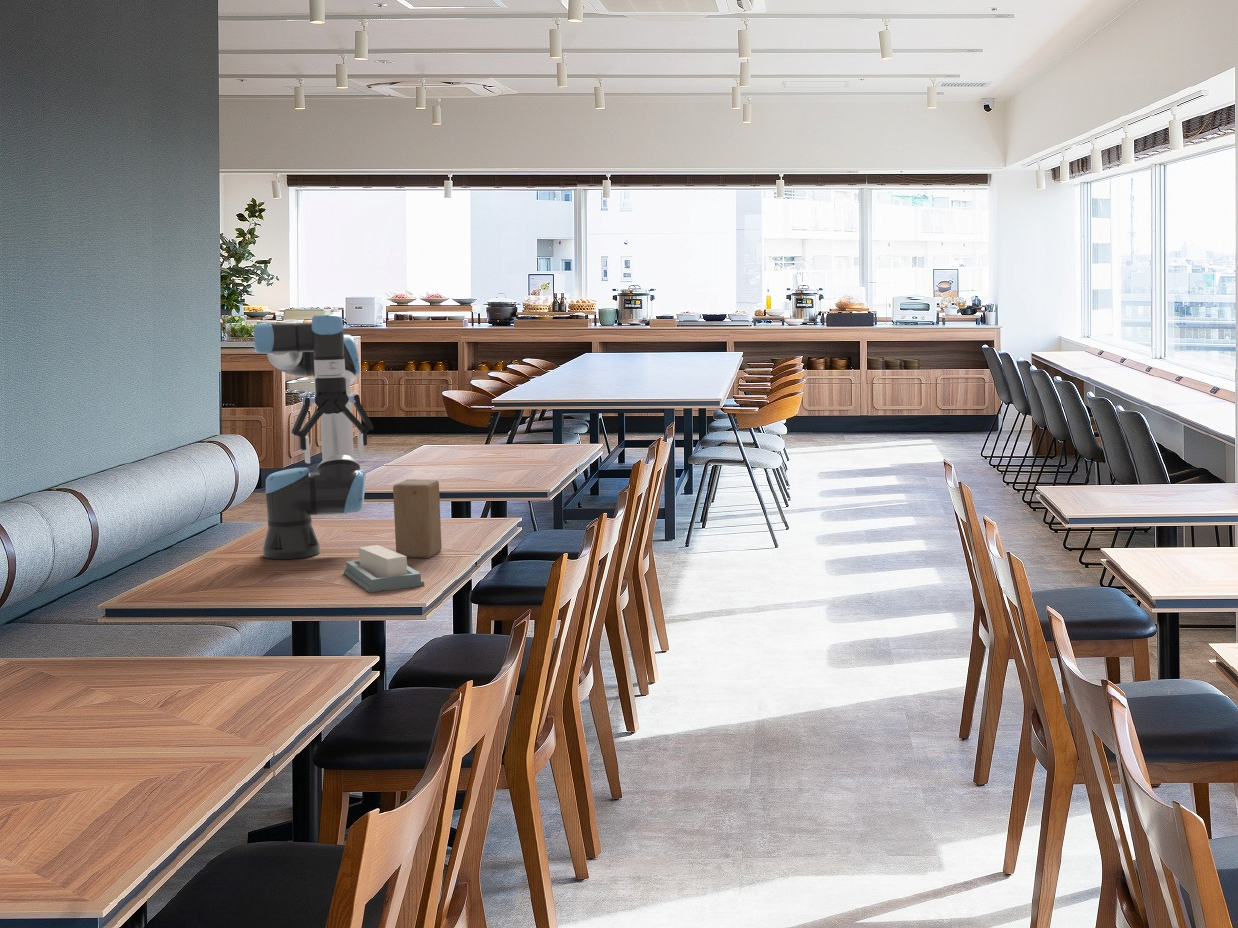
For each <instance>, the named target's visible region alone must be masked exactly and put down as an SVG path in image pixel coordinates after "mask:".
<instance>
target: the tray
mask: <svg viewBox="0 0 1238 928" xmlns="http://www.w3.org/2000/svg"><path fill="white" fill-rule="evenodd" d="M345 567H346V568H345V569H343V574H344V575H345V576H347V577H348V578H349V579H351V581H353V582H355V583H356V584H358V585H359V586H360V587H362V588H363V589H364V590H365V591H367V592H368V593H369V592H370V593H375V592H374V591H377V592H381V591H380V590H385V591H390V590H391V591H392V590H400V589H406V588H407V589H409V588H414V587H415V588H416V587H424V586H425V581H424V580H423V579H422V578H421V577H422V576H421V575H422V574H421V573H420V572H419V571H417V570H416V569H414V568H412V567H411V566H409V565H407V574H405V575H397V576H389V577H381V578H376V577H374V576H373V575H372V574H370V573H369V572H367V571H366V570H364V569H363V568H362V567H360V562H359V559H357V560H348V561H347V560H346V561H345Z"/></svg>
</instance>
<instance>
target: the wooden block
mask: <svg viewBox="0 0 1238 928" xmlns="http://www.w3.org/2000/svg"><path fill="white" fill-rule="evenodd" d="M392 492H393V493H392V494H393V495H392V497H393V513H394V515H393V517H394V535H395V537H394V539H395V552H397V553H399V554H402V555H404V556H407V558H409V559H410V558H412V559H428V558H431V557H433V556H435V555H436V554H438V553H440V552H442V525H441V524H442V523H441V505H440V504H441V503H440V502H441V501H440V499H441V498H440V482H439V480H437V479H412V478H411V479H406V480H402V481H400V482H398V483H395V484H394V485H393V487H392Z"/></svg>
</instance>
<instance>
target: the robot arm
mask: <svg viewBox="0 0 1238 928" xmlns="http://www.w3.org/2000/svg"><path fill="white" fill-rule="evenodd" d="M343 322H344V321H343V317H342V315H340V314H316V315H313V316H312V317H311V321H310V322H309V321H308V322H282V323H281V322H277V323H276V322H275V323H274V322H273V323H271V322H265V323H257V324H255V326H254V329H253V340H254V348H255V351H256V352H257V353H258V354H265V355H267V359H268V362H269V363H270V364H271V365H272V367H274V369H276V370H278V371H280V372H283V373H286V374H289V375H292V376H300V377H313V382H314V385H315V397H307V396H304V397H303V398H302V406H301V408H300V410H299V413H298V415H297V418H296V420H295V423H294V425H293V427H292V430H291V434H292V435H294V436H297V437H299V438H298V439H299V449H300V450H301V451H304V463H305V464H311V453H310V452H311V450H310V449H311V447H310V437H309V436H307V435H308V434H309V433H310V431H311V430H312V429H313V427H314V425H316V423H317V421H319V419H320V431H321V452H322V455H321V457H322V461H321V462H320V463H318V465H317V467H316V468H317V469H316V471H317V472H310V469H309V467H304V466H303V467H294V468H288V469H283V470H279V471H275V472H273V473H270V474H269V475H268V476H267V477H266V478H265V491H264V493H265V495H266V496H265V497H266V511H267V512H266V516H267V531H266V535H265V537H264V542H263V546H262V556H263V558H266V559H273V560H294V559H303V558H308V557H309V558H310V557H312V556H316V555H319V554H320V552H321V548H320V547H321V546H320V542H319V540H318V536H317V534H316V532H315V529H314V527H313V524H312V523H313V522H312V516H320V515H324V516H325V515H339V514H342V515H343V514H345V515H347V514H350V513H351V514H352V513H358V512H361V510H362V509H363V507H364V501H365V492H366V471H365V470H363V469H361V465H360V463H359V462H358V461H357V460H355V455H354V454H355V453H354V452H355V451H354V435H353V425H354V426H355V427H356V429H358V431H359V432H357V433H356V435H357V438H356V439H357V440H356V441H357V454H358V455H357V456H358V457H357V458H358V459H360V460H364V459H365V451H364V449H365V448H364V446H367V445H368V435H367V434H368V432H370V431H372V430H374V428H375V427H374V424H373V423H372V421H371V419H370V418H369V416H368V413H367V412H366V410H365V409H364V407H363V406H362V403H361V398H360V395H359V394H356V393H353V394H352V393H351V385H352V384H353V383H354V382H355V380H356V376H357V375H359V374H361V367H360V361H359V354H358V350H357V344H356V340H355V338H354V337H353V336H352V335H351V334H344V333H345V332H344V324H343ZM313 404H315V405H316V406H317V408H316V409H315V411H314V413H313V414H312V415H311V417H310V418H309V419H308V421H307V422H306V423H305V424H304V422H305V419H306V417H307V415H308V412H309V409H310V407H312V405H313ZM352 404H353V405H354V408H355V409H356V411H357V413H358V414H359V416H360V418H361V420H362V422H363V423H361V422H360V421H359V420H358V419H357V418H356V416H355V415H354V414H353V413H352ZM303 424H304V426H303ZM364 425H365V426H364ZM302 426H303V428H302ZM301 428H302V429H301Z"/></svg>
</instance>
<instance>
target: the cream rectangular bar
mask: <svg viewBox="0 0 1238 928" xmlns="http://www.w3.org/2000/svg"><path fill="white" fill-rule="evenodd" d="M358 558H359V559H358V560H359V562H360V567H362V568H363V569H364V570H366V571H367V572H369V573H370V574H372V575H373V576H374V577H376V578H381V577H389V576H397V575H405V574H407V566H408V561H407V560H408V559H407V556H404V555H402V554H399V553H397V552H396V551H394V550H391V549H389V548H386V547H384V546H381V545H379V544H376V545H375V544H374V545H368V546H361V547H358Z"/></svg>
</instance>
